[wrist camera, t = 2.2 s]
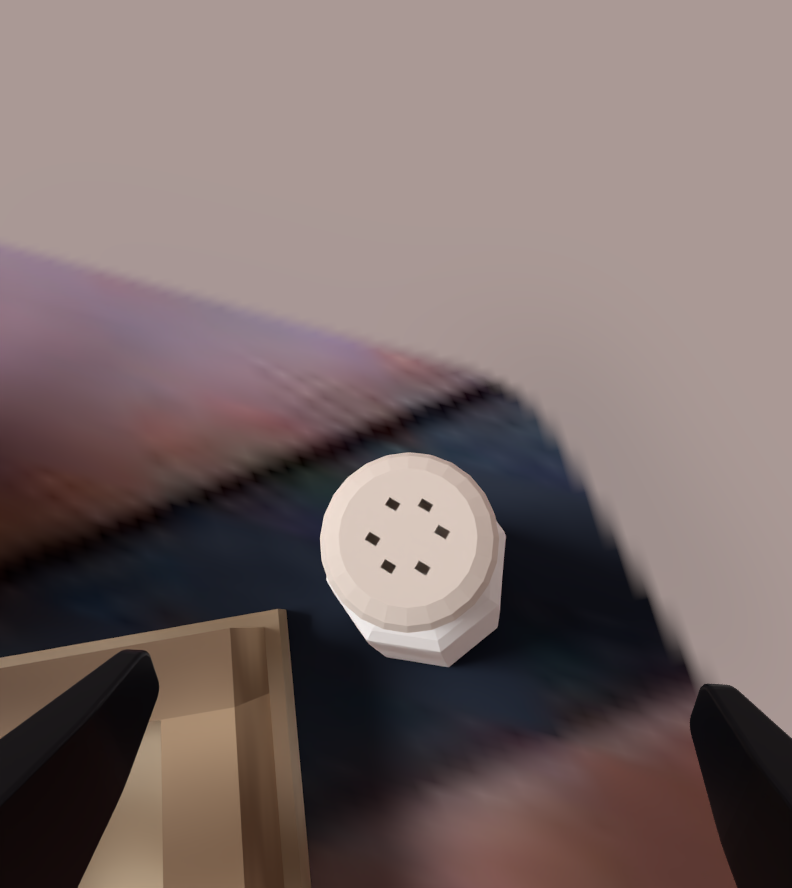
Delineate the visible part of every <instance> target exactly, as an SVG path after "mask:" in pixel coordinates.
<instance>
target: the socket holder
mask: <svg viewBox="0 0 792 888" xmlns="http://www.w3.org/2000/svg"><path fill="white" fill-rule="evenodd" d="M125 649H133V650H145V651H147V652H148V653H149V654H150V656H151V659H152V662H153V665H154V668H155V671H156V674H157V677H158V681H159V694H158V698H157V701H156V704H155V706H154V709H153V712H152V714H151V717H150V720H149V723H148V725H147V728H146V731H145V734H144V736H143V739H142V742H141V745H140V747H139V750H138V753H137V756H136V758H135V761H134V764H133V766H132V769H131V772H130V775H129V777H128V780H127V782H126V785H125V787H124V790H123V792H122V795H121V797H120V799H119V801H118V803H117V806H116V808H115V810H114V812H113V814H112V816H111V818H110V821H109V823H108V825H107V827H106V829H105V831H104V833H103V835H102V837H101V840H100V842H99V844H98V846H97V848H96V850H95V852H94V854H93V856H92V859H91V861H90V863H89V865H88V867H87V869H86V871H85V873H84V876H83V878H82V880H81V882H80V884H79V886H78V888H311V877H310V866H309V855H308V844H307V833H306V822H305V811H304V800H303V789H302V778H301V767H300V756H299V745H298V734H297V723H296V712H295V701H294V690H293V679H292V668H291V657H290V646H289V635H288V624H287V613H286V610H284V609H275V610H269V611H264V612H258V613H252V614H246V615H241V616H235V617H229V618H224V619H218V620H212V621H207V622H201V623H195V624H190V625H184V626H178V627H173V628H167V629H161V630H156V631H150V632H144V633H138V634H133V635H127V636H121V637H116V638H110V639H104V640H99V641H93V642H87V643H82V644H76V645H70V646H65V647H59V648H53V649H48V650H42V651H36V652H30V653H25V654H19V655H13V656H8V657H2V658H0V739H1V738H2V737H3V736H5V735H6V734H8V733H9V732H10V731H12V730H13V729H14V728H16V727H17V726H18V725H20V724H21V723H23V722H24V721H25V720H27V719H28V718H29V717H31V716H32V715H33V714H35V713H36V712H38V711H39V710H40V709H42V708H43V707H44V706H46V705H47V704H48V703H50V702H51V701H53V700H54V699H55V698H57V697H58V696H59V695H61V694H62V693H63V692H65V691H66V690H68V689H69V688H70V687H72V686H73V685H74V684H76V683H77V682H78V681H80V680H81V679H83V678H84V677H85V676H87V675H88V674H89V673H91V672H92V671H93V670H95V669H96V668H98V667H99V666H100V665H102V664H103V663H104V662H106V661H107V660H108V659H110V658H111V657H113V656H114V655H115V654H117V653H118V652H120V651H122V650H125Z"/></svg>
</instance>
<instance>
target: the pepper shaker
mask: <svg viewBox="0 0 792 888" xmlns="http://www.w3.org/2000/svg"><path fill="white" fill-rule="evenodd" d="M505 541H506V535H505V532H504V531H503V529H502V528H501V527H500V525H499V524H498V523H497V521H496V518H495V514H494V512H493V509H492V507H491V505H490V503H489V501H488V499H487V497H486V495H485V493H484V492H483V491H482V489H481V488H480V487H479V486H478V485H477V483H476V482H475V481H474V480H473V479H472V477H471V476H470V475H468V474H467V473H465V472H464V471H463V470H461V469H460V468H458V467H457V466H456V465H454V464H453V463H451V462H448V461H446V460H443V459H440V458H438V457H435V456H433V455H428V454H419V453H410V452H408V453H401V454H393V455H387V456H384V457H382V458H379V459H377V460H374V461H372V462H369V463H367V464H365V465H364V466H363V467H361V468H360V469H358V470H357V471H356V472H354V473H353V474H352V475H350V476H349V477H348V478H347V479H346V480H345V482H344V483H343V484H342V485H341V486H340V488H339V489H338V490H337V491H336V493H335V494H334V495H333V497H332V500H331V502H330V504H329V506H328V508H327V510H326V512H325V515H324V519H323V524H322V530H321V535H320V545H321V559H322V564H323V566H324V569H325V572H326V575H327V578H326V580H327V582H328V584H329V586H330V587H331V589H332V591H333V592H334V594H335V595H336V597H337V598H338V600H339V601H340V603H341V604H342V606H343V607H344V609H345V610H346V612H347V613H348V615H349V616H350V618H351V619H352V620H353V622H354V623H355V625H356V626H357V628H358V629H359V631H360V632H361V634H362V635H363V636H364V638H365V639H366V641H367V642H368V643H369V645H371V646H372V647H373V648H375V649H376V650H377V651H379V652H380V653H381V654H383V655H384V656H385V657H388V658H395V659H401V660H407V661H413V662H419V663H425V664H431V665H438V666H444V667H450V666H451V665H452V664H453V663H455V662H456V661H457V660H458V659H459V658H461V657H462V656H463V655H464V654H466V653H467V652H468V651H469V650H471V649H472V648H473V647H474V646H475V645H477V644H478V643H479V642H480V641H482V640H483V639H484V638H485V637H486V636H488V635H489V634H490V633H491V632H493V631H494V630H495V629H496V628H497V627H498V621H499V614H500V601H501V588H502V575H503V563H504V551H505Z"/></svg>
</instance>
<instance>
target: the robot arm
mask: <svg viewBox="0 0 792 888" xmlns="http://www.w3.org/2000/svg"><path fill="white" fill-rule="evenodd" d="M158 694H159V681H158V677H157V674H156V671H155V668H154V665H153V662H152V659H151V656H150V654H149V653H148V652H147V651H145V650H133V649H125V650H122V651H120V652H118V653H117V654H115V655H114V656H113V657H111V658H110V659H108V660H107V661H106V662H104V663H103V664H102V665H100V666H99V667H98V668H96V669H95V670H93V671H92V672H91V673H89V674H88V675H87V676H85V677H84V678H83V679H81V680H80V681H78V682H77V683H76V684H74V685H73V686H72V687H70V688H69V689H68V690H66V691H65V692H63V693H62V694H61V695H59V696H58V697H57V698H55V699H54V700H53V701H51V702H50V703H48V704H47V705H46V706H44V707H43V708H42V709H40V710H39V711H38V712H36V713H35V714H33V715H32V716H31V717H29V718H28V719H27V720H25V721H24V722H23V723H21V724H20V725H18V726H17V727H16V728H14V729H13V730H12V731H10V732H9V733H8V734H6V735H5V736H3V737H2V738H1V739H0V888H78V886H79V884H80V882H81V880H82V878H83V876H84V873H85V871H86V869H87V867H88V865H89V863H90V861H91V859H92V856H93V854H94V852H95V850H96V848H97V846H98V844H99V842H100V840H101V837H102V835H103V833H104V831H105V829H106V827H107V825H108V823H109V821H110V818H111V816H112V814H113V812H114V810H115V808H116V806H117V803H118V801H119V799H120V797H121V795H122V792H123V790H124V787H125V785H126V782H127V780H128V777H129V775H130V772H131V769H132V766H133V764H134V761H135V758H136V756H137V753H138V750H139V747H140V745H141V742H142V739H143V736H144V734H145V731H146V728H147V725H148V723H149V720H150V717H151V714H152V712H153V709H154V706H155V704H156V701H157V698H158ZM690 730H691V735H692V739H693V743H694V746H695V750H696V754H697V757H698V761H699V765H700V769H701V772H702V776H703V780H704V783H705V787H706V791H707V794H708V798H709V802H710V805H711V809H712V813H713V816H714V820H715V824H716V827H717V831H718V834H719V837H720V841H721V844H722V847H723V850H724V853H725V855H726V858H727V861H728V864H729V866H730V869H731V872H732V874H733V877H734V880H735V882H736V885H737V888H792V738H791V737H789V736H788V735H787V734H786V733H785V732H784V731H783V730H782V729H781V728H779V727H778V726H777V725H776V724H775V723H774V722H773V721H771V719H769V718H768V717H767V716H766V715H765V714H764V713H763V712H762V711H761V710H759V709H758V708H757V707H756V706H755V705H754V704H753V703H752V702H751V701H749V700H748V699H747V698H746V697H745V696H744V695H743V694H742V693H741V692H739V691H738V690H737V689H736V688H734V687H732V686H730V685H721V684H704V685H703V686H702V687H701V688H700V691H699V693H698V696H697V699H696V702H695V705H694V708H693V711H692V714H691V718H690Z"/></svg>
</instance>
